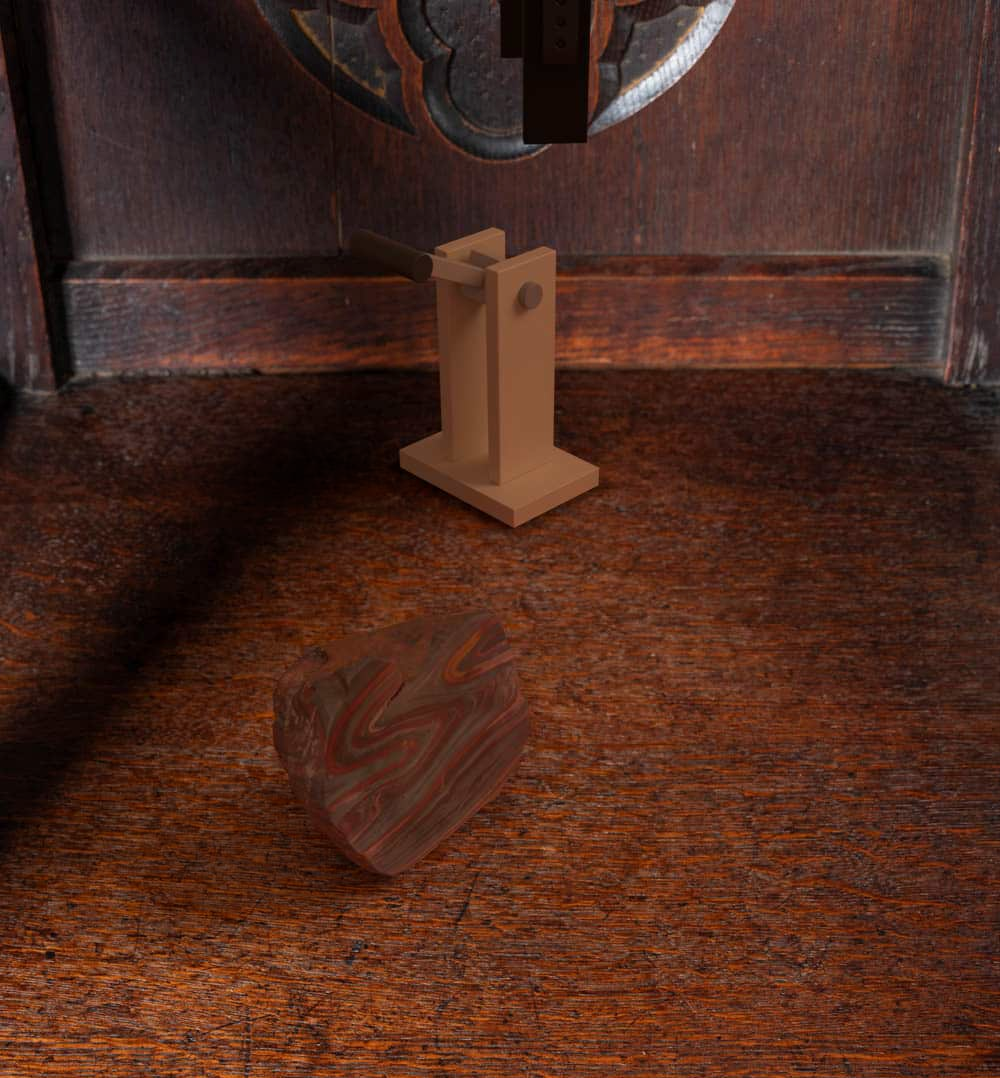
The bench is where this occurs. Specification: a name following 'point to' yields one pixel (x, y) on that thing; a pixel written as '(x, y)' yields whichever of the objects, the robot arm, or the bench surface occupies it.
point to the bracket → (499, 390)
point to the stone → (401, 733)
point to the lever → (423, 263)
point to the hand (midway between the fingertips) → (540, 96)
